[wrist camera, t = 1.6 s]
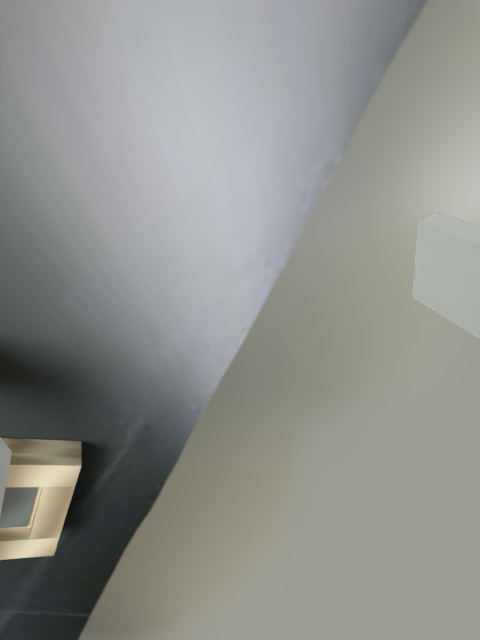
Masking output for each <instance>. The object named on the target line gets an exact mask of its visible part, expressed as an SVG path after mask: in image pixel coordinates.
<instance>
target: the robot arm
mask: <svg viewBox="0 0 480 640" xmlns="http://www.w3.org/2000/svg"><path fill="white" fill-rule="evenodd" d="M412 298H414V299H415V300H417V301H418V302H420V303H422V304H423V305H425V306H427V307H428V308H430V309H431V310H433V311H435V312H436V313H438V314H440V315H441V316H443V317H444V318H446V319H448V320H450V321H451V322H453V323H455V324H456V325H457V326H459V327H461V328H462V329H464V330H466V331H468V332H469V333H471V334H472V335H474V336H475V337H477V338H479V339H480V226H477V225H474V224H471V223H468V222H465V221H462V220H459V219H456V218H453V217H450V216H447V215H444V214H441V213H436V214H433V215H430V216H427V217H424V218H422V219H419V220H417V233H416V248H415V264H414V279H413V294H412ZM11 455H12V451H11V450H10V449H9V447H8V446H7V445H6V444H5V442H4V441H3V440H2V439H1V437H0V515H1V510H2V504H3V499H4V493H5V488H6V482H7V477H8V471H9V466H10V460H11Z"/></svg>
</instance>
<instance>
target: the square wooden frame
mask: <svg viewBox="0 0 480 640" xmlns="http://www.w3.org/2000/svg"><path fill="white" fill-rule="evenodd" d="M1 439H2V440H3V441H4V442H5V444H6V445H7V446H8V447H9V449H10V450H11V451H12V455H11V460H10V466H9V471H8V477H7V482H6V488H5V493H4V499H3V504H2V510H1V515H0V560H4V559H16V558H28V557H40V556H52V555H54V553H55V550H56V546H57V543H58V540H59V537H60V534H61V530H62V527H63V524H64V521H65V517H66V514H67V511H68V508H69V505H70V501H71V498H72V495H73V492H74V489H75V485H76V482H77V479H78V476H79V472H80V469H81V466H82V457H81V441H64V440H39V439H15V438H1Z"/></svg>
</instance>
